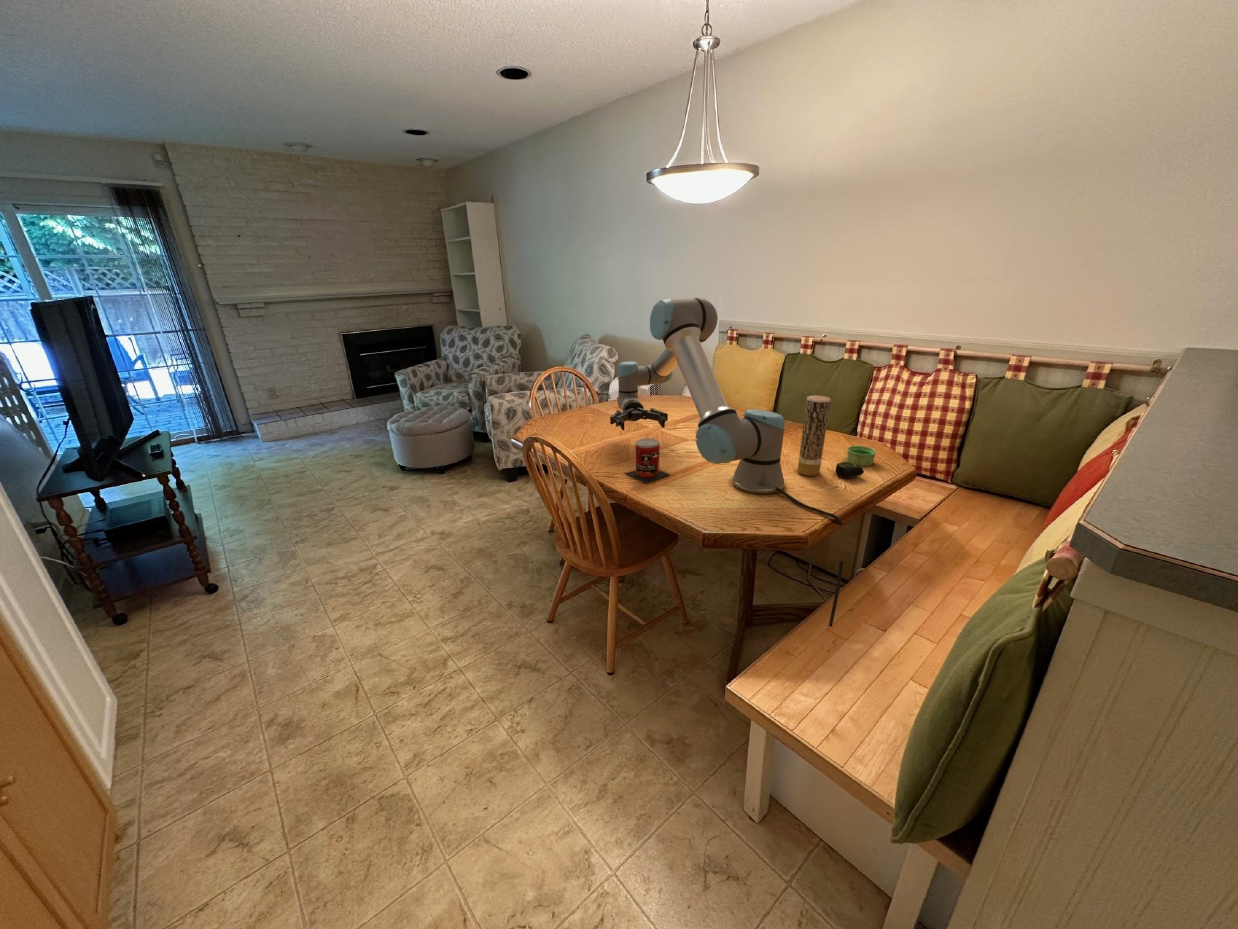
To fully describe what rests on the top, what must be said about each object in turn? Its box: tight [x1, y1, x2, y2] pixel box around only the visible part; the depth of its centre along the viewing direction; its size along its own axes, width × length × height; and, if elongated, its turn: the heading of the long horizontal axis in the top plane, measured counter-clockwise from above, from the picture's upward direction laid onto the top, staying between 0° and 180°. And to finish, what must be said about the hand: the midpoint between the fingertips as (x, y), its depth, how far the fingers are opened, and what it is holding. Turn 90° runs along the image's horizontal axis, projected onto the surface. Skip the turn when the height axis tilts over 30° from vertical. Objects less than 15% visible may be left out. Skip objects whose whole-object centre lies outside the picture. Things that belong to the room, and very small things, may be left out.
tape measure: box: [835, 461, 865, 479], centre depth 153 cm, size 7×7×4 cm
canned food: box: [634, 437, 661, 478], centre depth 155 cm, size 8×8×11 cm
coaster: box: [625, 469, 670, 484], centre depth 157 cm, size 10×10×1 cm
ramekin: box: [846, 445, 877, 467], centre depth 164 cm, size 9×9×4 cm
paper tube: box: [797, 395, 831, 477], centre depth 152 cm, size 7×7×25 cm
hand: (643, 425), depth 158 cm, fingers open, 13 cm apart
